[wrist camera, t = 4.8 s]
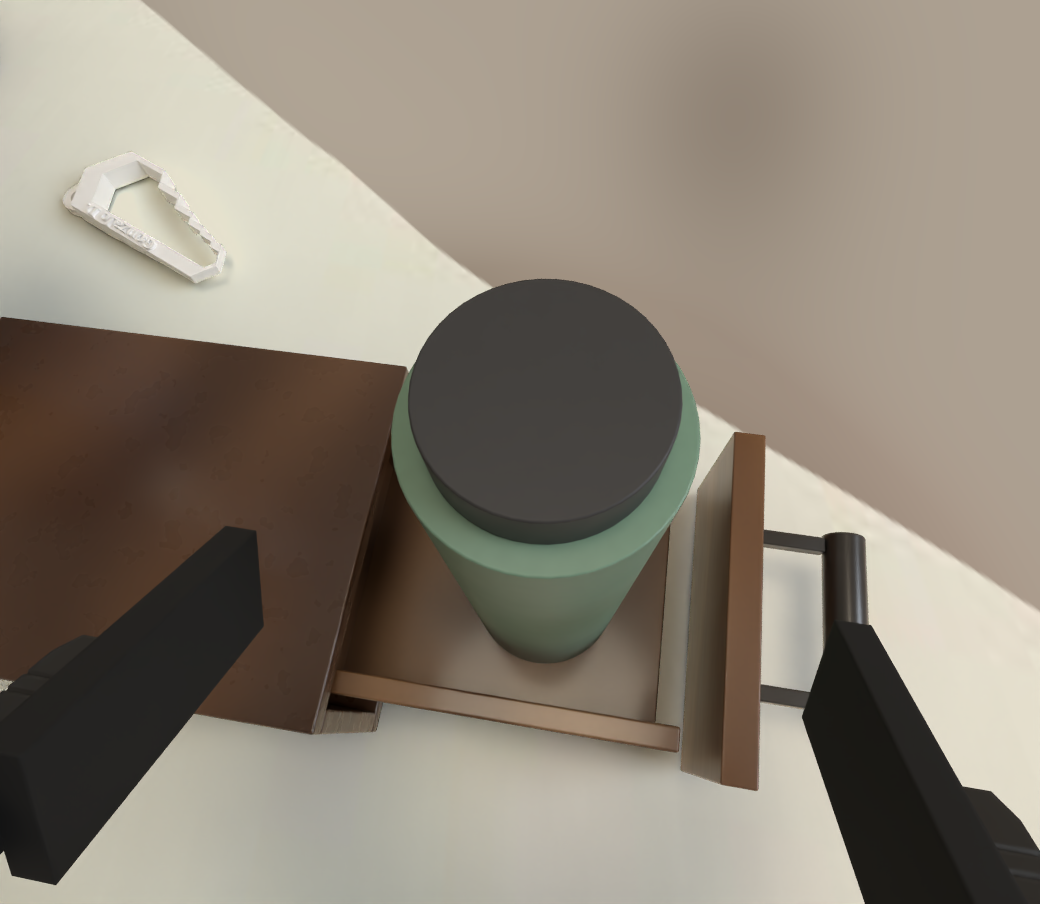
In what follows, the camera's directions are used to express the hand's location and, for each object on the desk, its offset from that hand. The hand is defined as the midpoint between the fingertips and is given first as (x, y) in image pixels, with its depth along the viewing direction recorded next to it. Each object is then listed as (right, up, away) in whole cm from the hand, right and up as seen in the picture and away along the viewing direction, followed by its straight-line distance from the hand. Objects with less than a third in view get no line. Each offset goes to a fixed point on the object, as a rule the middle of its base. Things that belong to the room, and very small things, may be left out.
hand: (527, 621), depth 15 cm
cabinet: (-14, -1, +17) cm, 22 cm away
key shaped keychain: (-22, +18, +26) cm, 38 cm away
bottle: (+1, -2, +14) cm, 14 cm away
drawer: (+3, -3, +15) cm, 15 cm away
